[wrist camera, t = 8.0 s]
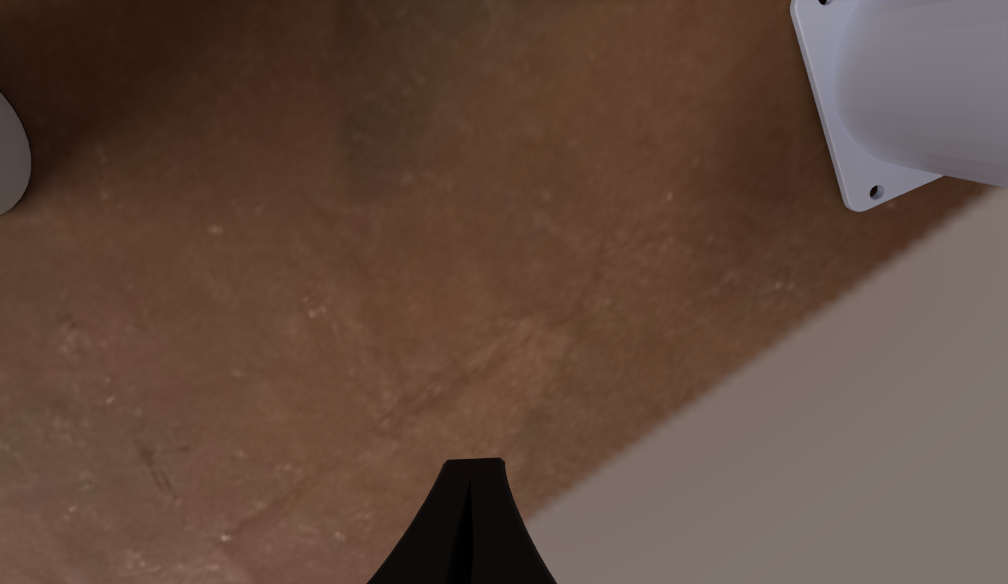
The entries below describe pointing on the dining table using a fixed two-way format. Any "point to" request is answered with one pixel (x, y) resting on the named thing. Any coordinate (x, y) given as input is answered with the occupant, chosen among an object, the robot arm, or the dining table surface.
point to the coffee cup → (12, 157)
